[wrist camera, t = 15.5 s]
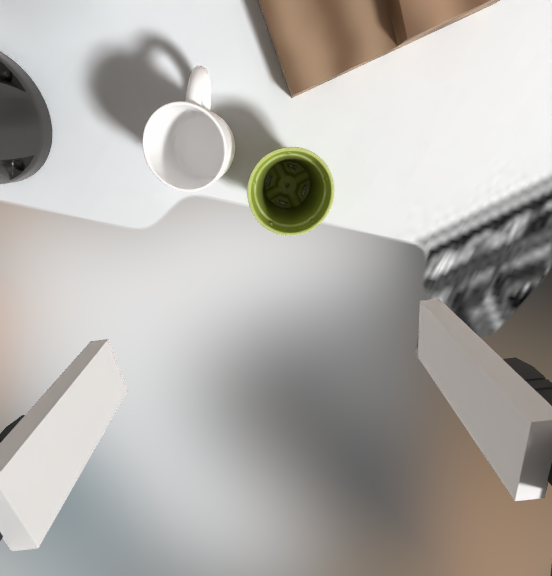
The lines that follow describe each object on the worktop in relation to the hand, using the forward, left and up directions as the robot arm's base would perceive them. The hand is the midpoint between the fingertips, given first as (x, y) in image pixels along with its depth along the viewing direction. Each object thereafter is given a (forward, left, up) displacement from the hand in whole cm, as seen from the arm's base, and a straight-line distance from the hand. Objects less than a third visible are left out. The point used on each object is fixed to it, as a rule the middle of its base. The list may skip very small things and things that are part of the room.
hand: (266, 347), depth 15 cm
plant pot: (+2, +3, -35) cm, 35 cm away
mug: (-9, +8, -35) cm, 37 cm away
